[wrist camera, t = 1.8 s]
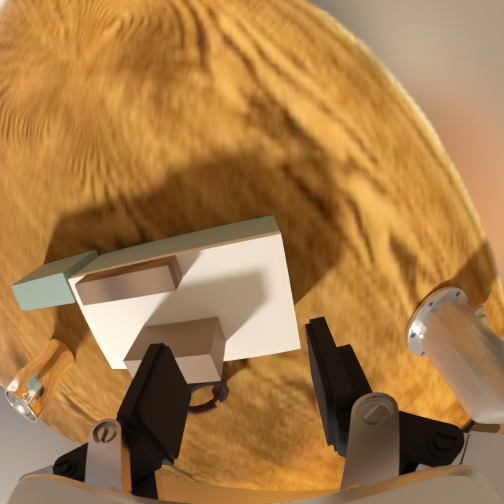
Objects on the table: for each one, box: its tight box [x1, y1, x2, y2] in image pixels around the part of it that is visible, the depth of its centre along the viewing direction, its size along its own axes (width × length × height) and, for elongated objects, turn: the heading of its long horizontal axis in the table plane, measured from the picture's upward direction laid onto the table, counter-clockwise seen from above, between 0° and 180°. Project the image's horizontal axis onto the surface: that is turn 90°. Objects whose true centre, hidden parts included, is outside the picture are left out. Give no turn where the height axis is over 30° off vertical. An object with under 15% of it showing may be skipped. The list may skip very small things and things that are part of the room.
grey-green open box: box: [11, 215, 280, 311], centre depth 29 cm, size 34×13×8 cm, turn 102°
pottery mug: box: [188, 372, 229, 415], centre depth 35 cm, size 12×10×8 cm
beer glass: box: [5, 339, 75, 422], centre depth 30 cm, size 7×7×15 cm
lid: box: [68, 231, 301, 384], centre depth 23 cm, size 22×12×8 cm, turn 102°
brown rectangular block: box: [75, 255, 183, 306], centre depth 22 cm, size 10×2×2 cm, turn 102°
